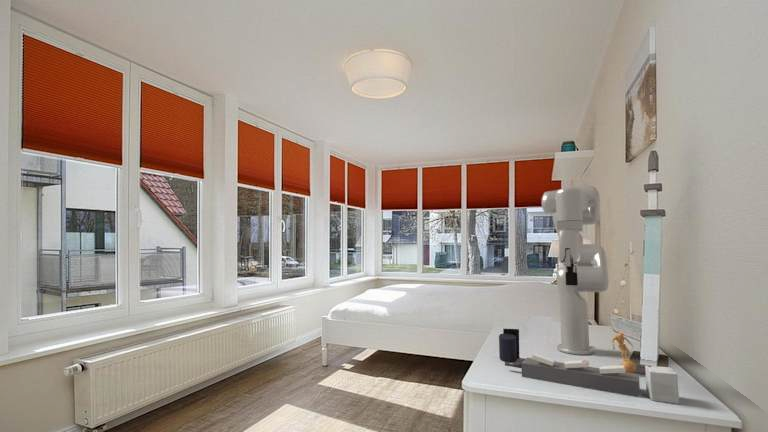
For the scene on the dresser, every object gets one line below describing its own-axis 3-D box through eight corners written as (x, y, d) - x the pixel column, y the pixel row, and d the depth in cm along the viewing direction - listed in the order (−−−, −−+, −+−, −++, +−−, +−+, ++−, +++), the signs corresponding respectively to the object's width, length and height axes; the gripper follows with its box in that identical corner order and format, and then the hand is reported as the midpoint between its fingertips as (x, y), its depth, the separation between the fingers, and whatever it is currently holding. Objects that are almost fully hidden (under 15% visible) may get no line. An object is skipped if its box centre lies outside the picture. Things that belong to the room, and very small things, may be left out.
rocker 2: (566, 365, 117) (565, 360, 117) (589, 364, 114) (587, 359, 114) (565, 368, 114) (563, 363, 115) (587, 367, 111) (586, 362, 112)
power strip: (508, 367, 130) (508, 353, 130) (639, 388, 110) (638, 372, 110) (502, 373, 124) (501, 358, 124) (639, 397, 104) (638, 380, 104)
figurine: (624, 376, 119) (622, 336, 120) (607, 370, 125) (605, 332, 126) (644, 373, 122) (642, 334, 123) (626, 368, 128) (624, 330, 129)
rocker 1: (534, 356, 122) (534, 352, 122) (554, 363, 119) (555, 359, 119) (531, 358, 120) (532, 354, 120) (552, 366, 116) (553, 362, 116)
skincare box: (679, 404, 99) (678, 374, 100) (651, 400, 101) (649, 371, 102) (673, 395, 105) (671, 367, 105) (645, 392, 107) (644, 364, 107)
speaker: (503, 354, 143) (503, 326, 143) (519, 357, 140) (519, 328, 140) (496, 361, 137) (496, 332, 137) (513, 365, 134) (513, 335, 133)
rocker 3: (601, 370, 112) (600, 366, 112) (625, 369, 109) (624, 365, 109) (600, 373, 109) (599, 369, 110) (625, 372, 106) (623, 368, 107)
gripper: (561, 228, 135) (563, 282, 134) (552, 226, 123) (554, 286, 121) (585, 227, 131) (588, 283, 130) (578, 225, 118) (581, 288, 117)
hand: (571, 284), depth 125 cm, fingers closed
